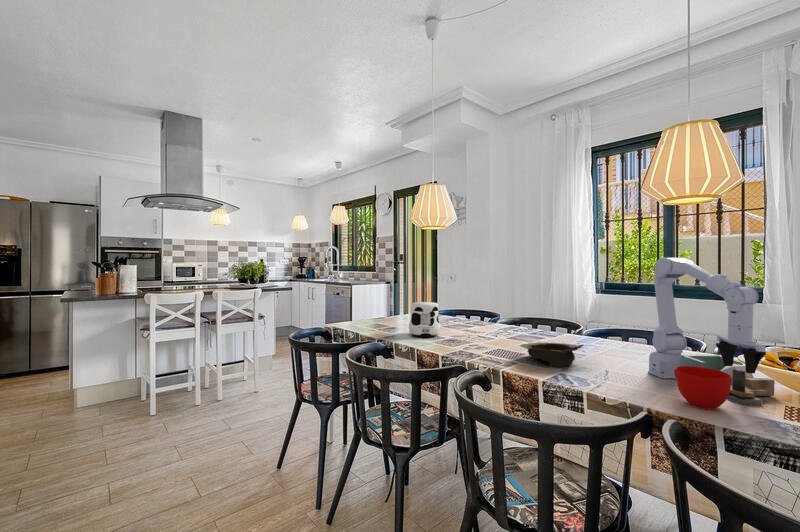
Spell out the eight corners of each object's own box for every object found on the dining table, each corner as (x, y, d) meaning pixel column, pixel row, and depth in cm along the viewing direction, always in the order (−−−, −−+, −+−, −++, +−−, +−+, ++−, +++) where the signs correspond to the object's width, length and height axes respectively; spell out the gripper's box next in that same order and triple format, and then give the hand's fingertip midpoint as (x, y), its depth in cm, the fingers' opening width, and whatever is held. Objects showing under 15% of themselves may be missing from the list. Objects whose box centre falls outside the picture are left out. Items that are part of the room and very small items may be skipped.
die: (732, 393, 126) (756, 373, 122) (708, 374, 133) (731, 354, 130) (742, 398, 129) (766, 378, 126) (719, 379, 136) (741, 360, 133)
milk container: (424, 331, 225) (425, 301, 225) (446, 336, 212) (446, 303, 212) (402, 335, 214) (402, 303, 214) (423, 340, 201) (423, 306, 201)
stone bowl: (575, 373, 143) (574, 349, 144) (511, 367, 158) (510, 344, 159) (589, 359, 163) (587, 337, 163) (531, 354, 178) (529, 334, 178)
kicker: (740, 401, 115) (740, 373, 115) (720, 393, 122) (721, 366, 122) (790, 401, 116) (791, 373, 115) (768, 393, 123) (768, 367, 122)
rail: (741, 404, 114) (742, 399, 114) (693, 384, 132) (693, 380, 132) (761, 404, 114) (761, 400, 114) (710, 384, 132) (710, 380, 132)
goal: (700, 381, 135) (701, 362, 135) (679, 373, 145) (680, 354, 145) (742, 381, 136) (742, 362, 136) (718, 373, 146) (719, 355, 146)
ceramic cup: (694, 393, 124) (695, 362, 124) (743, 414, 107) (744, 379, 107) (656, 393, 123) (656, 362, 123) (698, 414, 107) (699, 379, 106)
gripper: (776, 330, 111) (775, 376, 111) (732, 321, 125) (731, 362, 126) (752, 330, 111) (751, 376, 111) (711, 321, 125) (710, 362, 125)
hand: (739, 369), depth 118 cm, fingers open, 7 cm apart
